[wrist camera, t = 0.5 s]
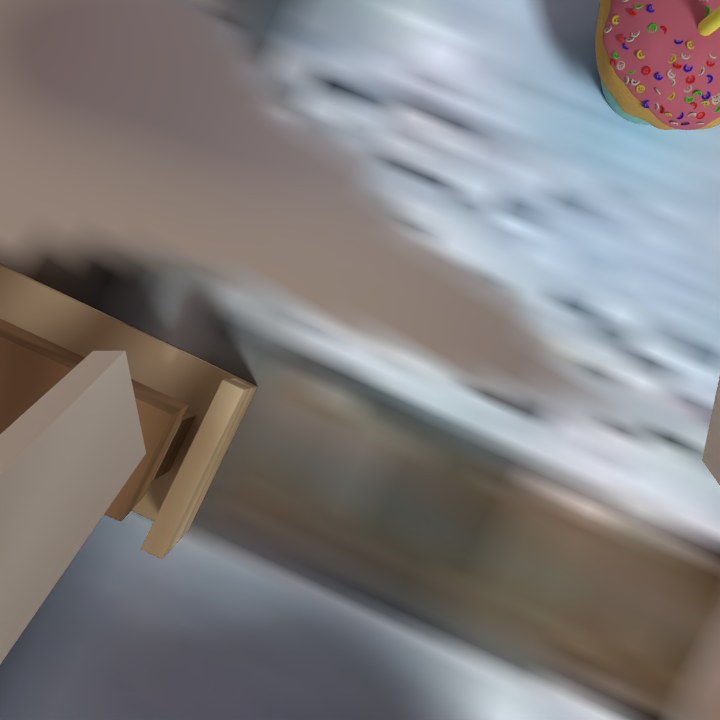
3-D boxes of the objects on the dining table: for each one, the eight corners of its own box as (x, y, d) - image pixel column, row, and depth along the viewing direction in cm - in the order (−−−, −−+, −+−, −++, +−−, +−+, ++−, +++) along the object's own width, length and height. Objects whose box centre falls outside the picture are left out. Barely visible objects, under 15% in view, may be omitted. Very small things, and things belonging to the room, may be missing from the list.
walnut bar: (188, 405, 29) (172, 414, 25) (143, 497, 29) (120, 521, 25) (-51, 295, 28) (-107, 287, 24) (-99, 390, 28) (-163, 399, 24)
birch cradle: (257, 386, 33) (243, 390, 28) (188, 530, 33) (161, 558, 28) (-42, 243, 33) (-110, 221, 28) (-114, 388, 33) (-195, 392, 28)
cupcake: (672, 190, 34) (852, 95, 22) (531, 104, 34) (637, -38, 22) (753, 49, 34) (977, -121, 22) (615, -36, 34) (765, -254, 22)
